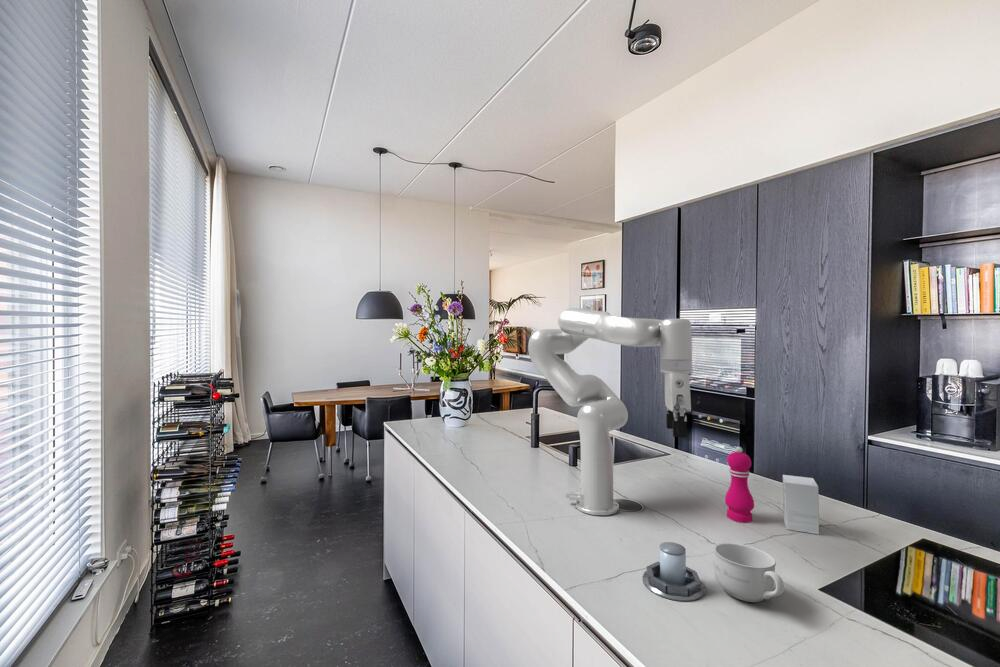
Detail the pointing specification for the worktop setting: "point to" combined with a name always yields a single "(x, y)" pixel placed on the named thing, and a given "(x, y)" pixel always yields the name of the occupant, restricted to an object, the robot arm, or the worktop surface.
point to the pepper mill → (739, 488)
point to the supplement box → (800, 504)
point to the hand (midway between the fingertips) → (676, 432)
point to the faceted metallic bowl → (674, 592)
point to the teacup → (746, 572)
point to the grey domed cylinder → (673, 563)
